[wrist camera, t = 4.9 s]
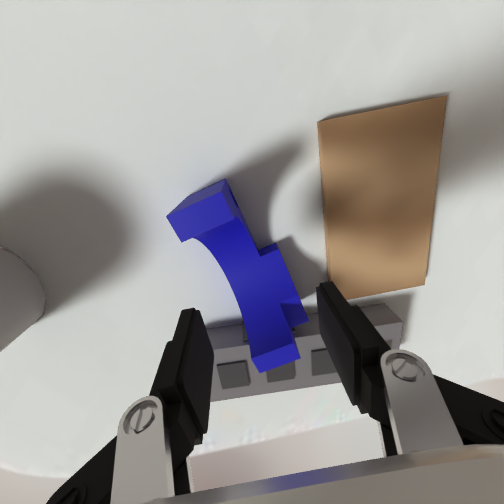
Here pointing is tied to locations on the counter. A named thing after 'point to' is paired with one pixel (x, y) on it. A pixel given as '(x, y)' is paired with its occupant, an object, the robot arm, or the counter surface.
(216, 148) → the counter surface
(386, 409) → the robot arm
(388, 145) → the wooden board
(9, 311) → the cup
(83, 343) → the counter surface
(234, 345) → the power strip
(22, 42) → the counter surface
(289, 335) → the cable clip
